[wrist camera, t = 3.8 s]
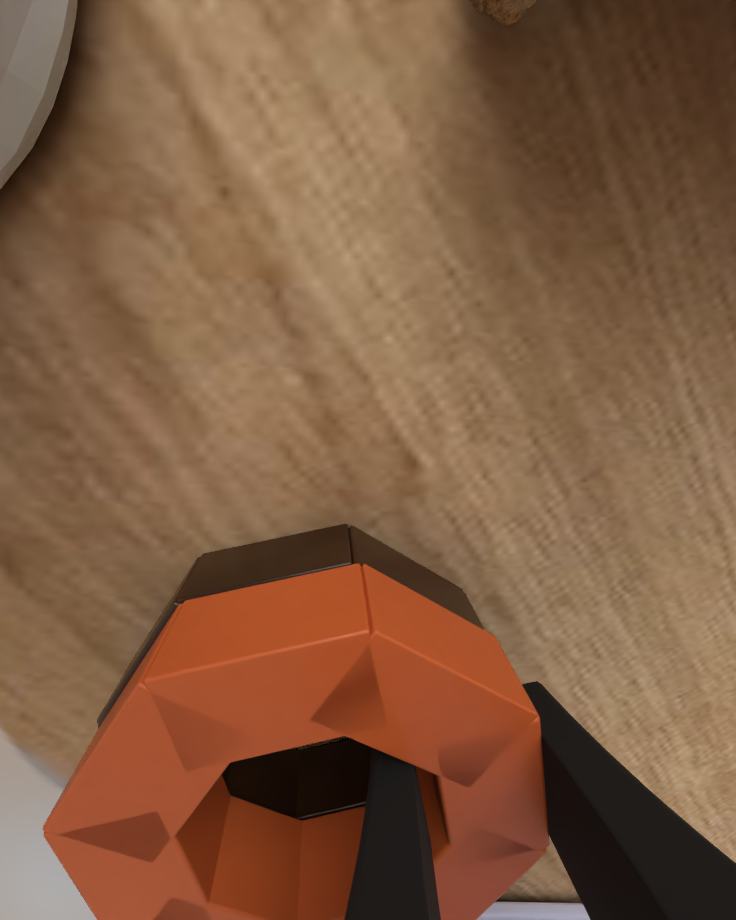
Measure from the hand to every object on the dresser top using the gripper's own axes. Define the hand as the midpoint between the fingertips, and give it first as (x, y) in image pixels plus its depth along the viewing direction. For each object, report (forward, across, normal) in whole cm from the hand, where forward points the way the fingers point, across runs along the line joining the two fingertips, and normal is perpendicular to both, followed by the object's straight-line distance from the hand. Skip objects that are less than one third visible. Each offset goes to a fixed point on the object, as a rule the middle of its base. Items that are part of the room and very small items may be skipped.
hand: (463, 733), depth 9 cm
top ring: (+1, +3, 0) cm, 3 cm away
